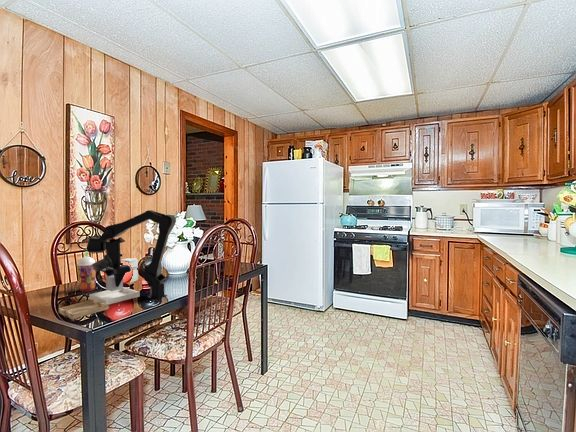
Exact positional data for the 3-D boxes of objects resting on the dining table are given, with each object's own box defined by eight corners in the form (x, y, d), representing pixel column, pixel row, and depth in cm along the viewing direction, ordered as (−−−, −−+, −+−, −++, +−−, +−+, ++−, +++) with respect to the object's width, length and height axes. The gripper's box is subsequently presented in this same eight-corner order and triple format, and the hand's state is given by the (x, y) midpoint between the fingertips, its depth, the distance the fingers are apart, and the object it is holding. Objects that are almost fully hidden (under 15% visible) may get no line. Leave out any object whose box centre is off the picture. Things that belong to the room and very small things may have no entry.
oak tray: (108, 309, 131) (108, 305, 131) (73, 319, 121) (72, 314, 120) (93, 304, 139) (93, 299, 139) (58, 312, 128) (58, 308, 128)
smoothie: (92, 287, 166) (91, 249, 165) (100, 289, 161) (99, 250, 160) (74, 290, 159) (73, 251, 158) (82, 293, 154) (80, 253, 153)
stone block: (122, 288, 147) (122, 275, 147) (111, 291, 143) (111, 278, 143) (117, 287, 150) (116, 274, 150) (106, 289, 146) (105, 276, 146)
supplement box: (129, 283, 173) (129, 260, 172) (117, 282, 175) (117, 260, 174) (138, 280, 180) (138, 258, 180) (127, 279, 182) (126, 257, 181)
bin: (139, 297, 149) (139, 291, 149) (106, 306, 136) (105, 300, 136) (122, 291, 157) (122, 286, 157) (89, 299, 145) (89, 294, 145)
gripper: (85, 252, 144) (86, 286, 145) (105, 257, 134) (106, 293, 135) (110, 249, 154) (111, 281, 154) (130, 253, 143) (131, 287, 144)
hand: (114, 285), depth 147 cm, fingers closed on stone block, 5 cm apart
